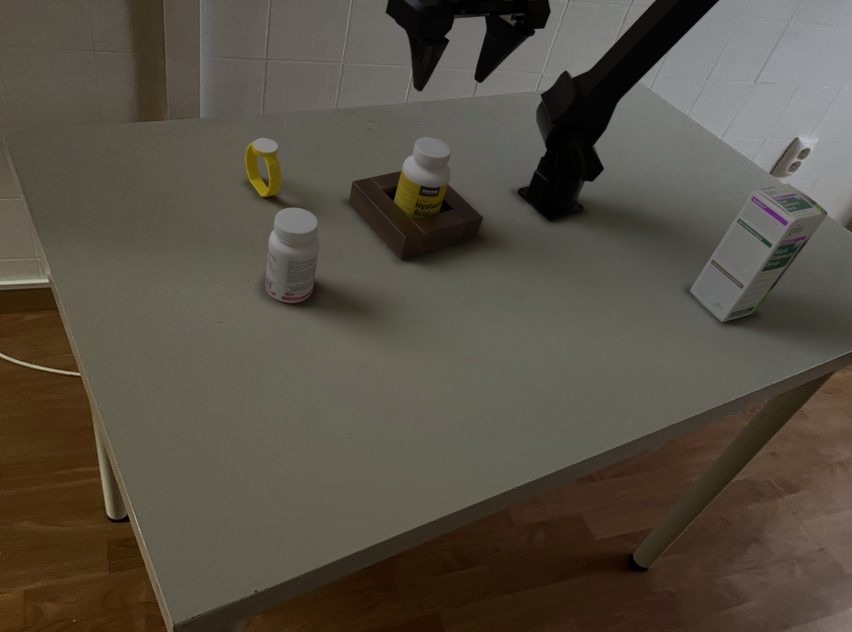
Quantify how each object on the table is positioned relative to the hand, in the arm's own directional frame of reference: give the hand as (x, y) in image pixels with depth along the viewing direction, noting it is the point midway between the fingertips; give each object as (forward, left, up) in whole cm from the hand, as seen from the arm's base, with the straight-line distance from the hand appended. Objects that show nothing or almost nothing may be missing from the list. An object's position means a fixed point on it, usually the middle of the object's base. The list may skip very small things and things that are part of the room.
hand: (448, 85), depth 79 cm
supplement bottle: (+6, +6, -13) cm, 16 cm away
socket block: (+6, +6, -13) cm, 15 cm away
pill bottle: (+25, +11, -13) cm, 30 cm away
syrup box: (-21, +32, -13) cm, 40 cm away
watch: (+20, -5, -13) cm, 24 cm away
